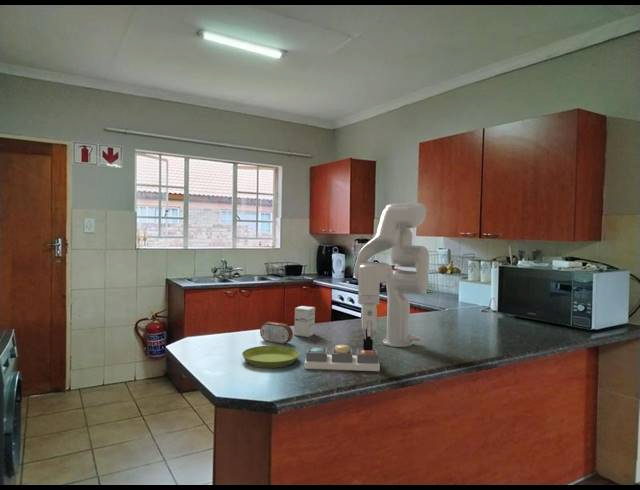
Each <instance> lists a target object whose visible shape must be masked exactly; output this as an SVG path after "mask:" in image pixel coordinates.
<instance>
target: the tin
mask: <svg viewBox="0 0 640 490" xmlns="http://www.w3.org/2000/svg"><path fill="white" fill-rule="evenodd" d="M293 332H294V331H293V329H292V328H291V325H290V326H289V325H288V324H287V323H282V322H274V321H267V322H264V323H263V324H262V325H261V326H260V328H259V334H260V337H261V339H262V340H263V341H265V342H268V343H274V344H281V345H286V344H288V343H289V342H291V340H292V339H293V337H294V333H293Z"/></svg>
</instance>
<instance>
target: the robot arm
mask: <svg viewBox="0 0 640 490" xmlns="http://www.w3.org/2000/svg"><path fill="white" fill-rule="evenodd" d="M426 217H427V210H426V206H425V205H424V204H422V203H420V202H419V203H416V202H414V203H412V202H411V203H407V202H405V203H403V202H402V203H400V202H397V203H396V202H395V203H389V204H387V205H386V206H385V208H384V209H383V210H382V212H381V214H380V218H379V220H378V221H379V222H378V225H377V229H376V231H375V236H374V237H373V238H372V239H371V240H370V241H368V242H366V244H365V245H364V246H363V247H362V248H361V249H360V250H359V252H358V254H357V257H356V261H355V264H354V267H353V276H354V278H355V279H356V280H357V281H358V286H357V287H358V289H357V290H358V293H357V294H358V295H357V296H358V297H357V303H358V304H359V305H361V306H360V307H361V311H360V312H361V315H360V317H361V318H360V319H361V328H362V332H363V344H362V345H363V347H362V349H364V350H365V351H372V350H373V349H374V347H373V346H374V345H373V343H374V341H373V340H374V339H373V333H375V334H376V333H378V326H377V325H378V321H377V320H378V313H377V312H378V311H377V310H378V309H377V308H378V307H377V306H378V305H379V304H380V291H381V290H380V287H381V285H380V284H385V286H386V287H385V288H386V293H387V294H386V295H387V303H386V305H387V306H386V309H387V311H386V337H385V338H382V339H383V340H382V344H383V345H385V346H387V347H388V346H389V347H393V348H408V347H411V346H413V344H414V342H413V341H419V342H420V341H421V336H419V335H416V334H415V335H413V334H412V335H411V334H410V318H411V315H410V314H411V313H410V312H411V310H410V307H411V305H410V300H409V297H408V296H407V295H406V294H410V295H411V294H412V295H423V294H425V293H426V292H427V290H428V283H429V282H428V281H429V267H430V254H429V249H428V248H427V247H425V246H423V245H413V233H412V230H411V229H414V228H417V227H419V226H420V225H421V224H423V222H424V221H425V220H426ZM387 250H390V251H391V253H390V262H391V264H392V265H393V266H395V267H398V268H410V269H411V268H412V269H416V270H414V271H413V270H406V269H405V270H402V269H401V270H400V269H395V270H394V269H393V266H392V265H390V264H389V263H386V262H376V261H369V260H370V259H371V258H372V257H373V256H375V255H376V254H380V253H382V252H385V251H387Z"/></svg>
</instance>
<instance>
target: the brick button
mask: <svg viewBox="0 0 640 490" xmlns="http://www.w3.org/2000/svg"><path fill="white" fill-rule="evenodd" d="M360 354H374V351H365V350H361V351H360Z"/></svg>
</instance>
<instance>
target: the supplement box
mask: <svg viewBox="0 0 640 490" xmlns="http://www.w3.org/2000/svg"><path fill="white" fill-rule="evenodd" d="M315 319H316V307H315V306H306V305H300V306H297V307H295V308H294V326H293V327H294V328H293V329H294V330H293V332H294V333H293V336H298V337H306V338H309V337H311V336H313V335H314V334H315V321H316V320H315Z"/></svg>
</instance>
